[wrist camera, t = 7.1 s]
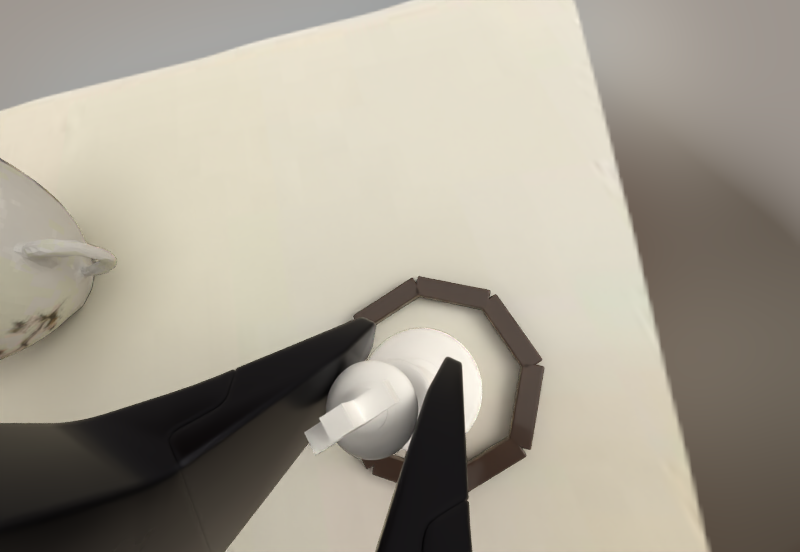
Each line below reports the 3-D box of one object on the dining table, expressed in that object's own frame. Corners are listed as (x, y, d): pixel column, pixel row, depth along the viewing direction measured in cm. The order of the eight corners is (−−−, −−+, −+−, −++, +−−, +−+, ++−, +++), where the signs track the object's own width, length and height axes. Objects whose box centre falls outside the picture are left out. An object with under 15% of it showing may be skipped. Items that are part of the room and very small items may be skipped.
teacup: (-36, 380, 25) (-266, 389, 17) (7, 205, 28) (-174, 145, 20) (159, 380, 22) (-10, 390, 14) (185, 185, 25) (55, 106, 17)
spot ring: (318, 452, 19) (313, 455, 19) (366, 268, 21) (363, 265, 20) (517, 518, 17) (519, 524, 16) (552, 304, 19) (555, 302, 18)
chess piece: (344, 367, 16) (160, 371, 7) (438, 305, 16) (386, 219, 7) (403, 475, 15) (274, 676, 5) (507, 409, 15) (569, 490, 5)
